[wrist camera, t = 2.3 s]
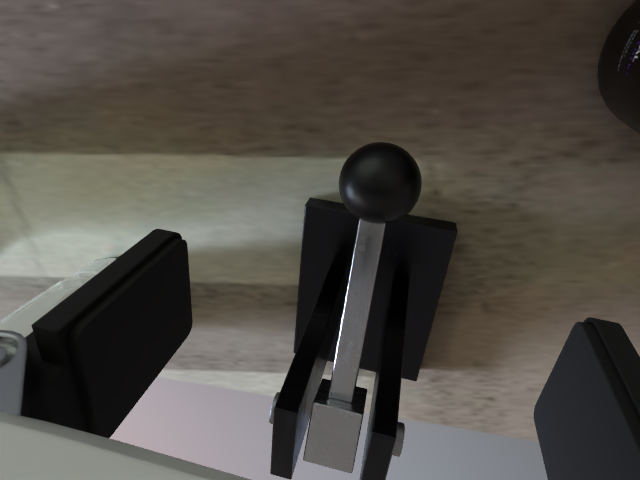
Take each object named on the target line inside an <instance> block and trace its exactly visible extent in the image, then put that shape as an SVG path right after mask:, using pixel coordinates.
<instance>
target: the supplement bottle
mask: <svg viewBox="0 0 640 480" xmlns="http://www.w3.org/2000/svg"><path fill="white" fill-rule="evenodd" d="M598 84H599V89H600V93H601V96H602V98H603V100H604V102H605V104H606V105H607V107H608V108H609V109H610V111H611V112H612V113H613V114H614V115H615V116H616V117H617V118H618V119H620V120H621V121H622V122H624V123H625V124H626V125H628V126H629V127H631V128H632V129H634V130H635V131H637V132H638V133H640V0H636V1H635V2H634V3H633V4H632V5H631V6H630V7H629V8H628V9H627V10H626V11H625V12H624V13H623V14H622V16H621V17H620V18H619V19H618V21H617V22H616V24H615V25H614V26H613V28H612V30H611V31H610V33H609V35H608V37H607V39H606V41H605V43H604V46H603V49H602V51H601V55H600V59H599V65H598Z"/></svg>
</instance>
